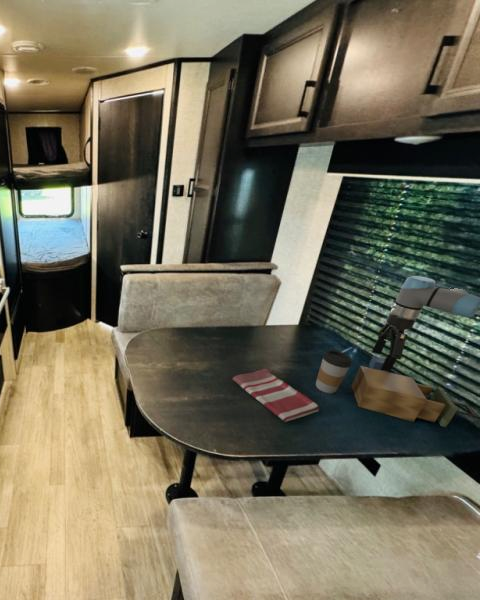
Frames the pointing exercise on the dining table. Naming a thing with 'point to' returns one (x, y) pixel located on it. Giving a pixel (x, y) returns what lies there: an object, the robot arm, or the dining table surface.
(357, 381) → the cabinet
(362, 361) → the dining table surface
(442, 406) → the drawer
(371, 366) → the block
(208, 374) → the dining table surface
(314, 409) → the dish towel
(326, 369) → the coffee cup
